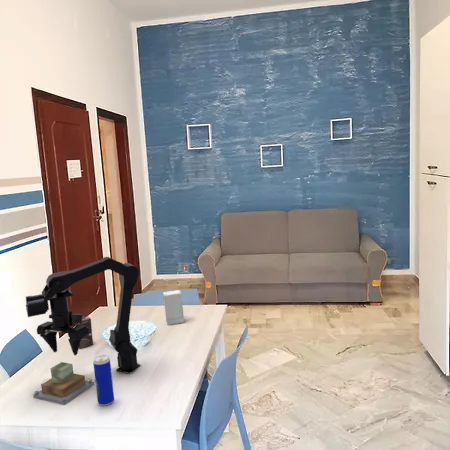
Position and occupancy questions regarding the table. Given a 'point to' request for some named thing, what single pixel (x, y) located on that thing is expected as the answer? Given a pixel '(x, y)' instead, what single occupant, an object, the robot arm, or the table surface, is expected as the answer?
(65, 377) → the block
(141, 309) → the table surface
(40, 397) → the baseplate
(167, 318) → the skincare box
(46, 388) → the base brick
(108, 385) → the beverage can
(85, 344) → the box
